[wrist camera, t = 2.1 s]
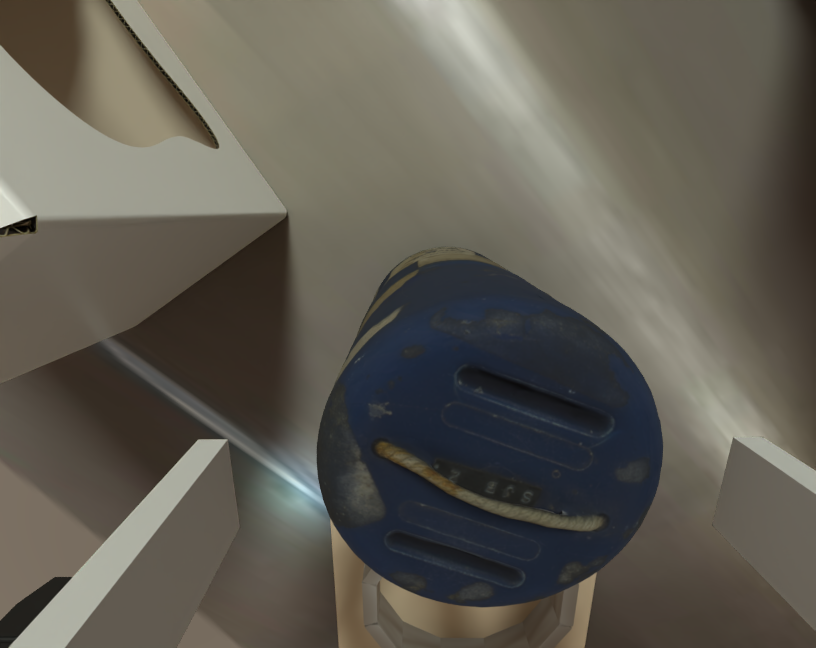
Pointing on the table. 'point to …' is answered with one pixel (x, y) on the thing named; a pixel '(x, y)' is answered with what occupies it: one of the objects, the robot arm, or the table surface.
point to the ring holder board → (448, 614)
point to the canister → (485, 437)
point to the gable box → (107, 178)
